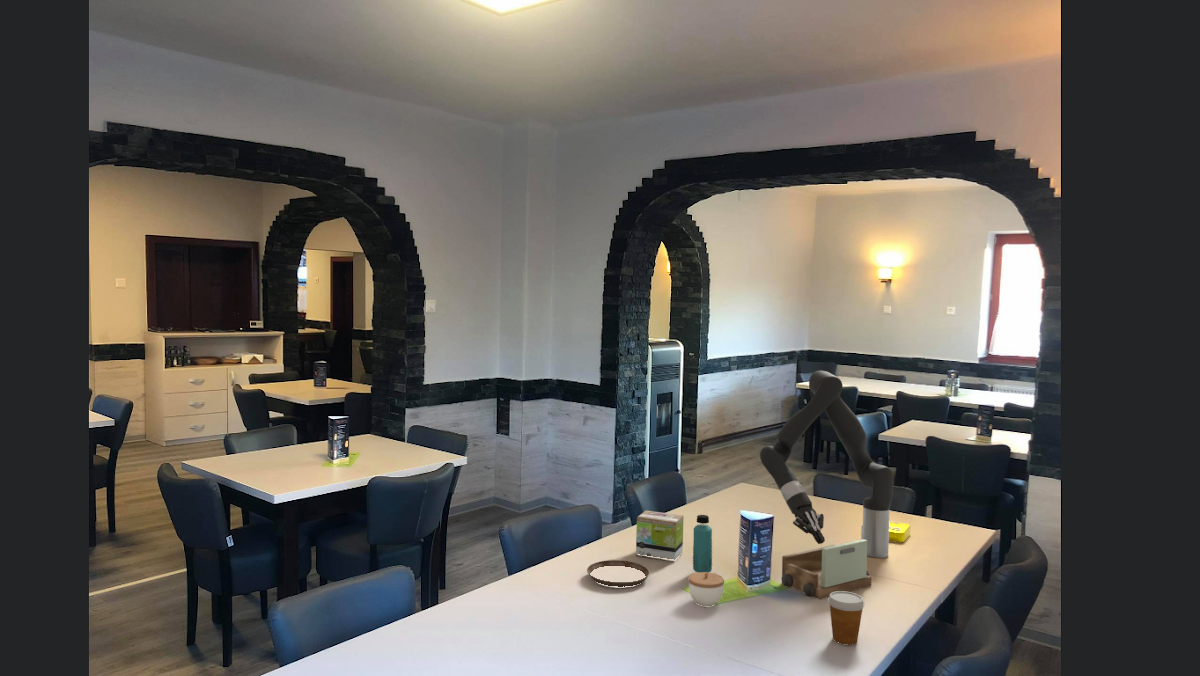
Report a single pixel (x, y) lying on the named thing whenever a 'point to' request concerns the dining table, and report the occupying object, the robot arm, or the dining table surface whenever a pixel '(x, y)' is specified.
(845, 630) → the disposable coffee cup
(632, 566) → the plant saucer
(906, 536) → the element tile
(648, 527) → the tea box
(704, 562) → the beverage bottle
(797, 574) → the drawer box
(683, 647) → the dining table surface
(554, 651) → the dining table surface
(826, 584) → the panel
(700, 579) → the lidded jar
